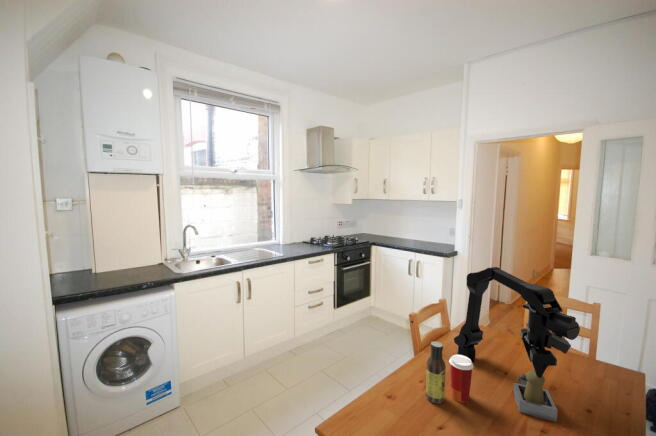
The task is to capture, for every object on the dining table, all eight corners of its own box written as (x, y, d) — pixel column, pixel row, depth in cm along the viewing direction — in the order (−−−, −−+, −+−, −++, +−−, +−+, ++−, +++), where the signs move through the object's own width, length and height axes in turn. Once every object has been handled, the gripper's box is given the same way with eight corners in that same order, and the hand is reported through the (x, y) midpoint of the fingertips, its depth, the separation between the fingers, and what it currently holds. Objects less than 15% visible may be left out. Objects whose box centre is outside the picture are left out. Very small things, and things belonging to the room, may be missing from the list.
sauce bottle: (445, 406, 97) (447, 350, 96) (425, 402, 99) (427, 347, 97) (443, 394, 103) (445, 341, 102) (425, 390, 105) (427, 338, 103)
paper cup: (470, 392, 104) (471, 355, 103) (473, 407, 97) (475, 368, 96) (447, 387, 107) (448, 352, 105) (448, 402, 99) (449, 363, 98)
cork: (537, 397, 100) (539, 368, 99) (548, 410, 94) (551, 379, 93) (519, 396, 101) (520, 367, 100) (529, 409, 95) (531, 378, 94)
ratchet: (519, 415, 95) (520, 401, 94) (508, 380, 112) (509, 368, 112) (556, 424, 91) (557, 410, 90) (539, 387, 108) (540, 375, 108)
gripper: (580, 343, 84) (576, 393, 85) (558, 318, 101) (555, 360, 102) (534, 336, 88) (531, 383, 90) (521, 312, 105) (518, 353, 107)
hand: (535, 369), depth 97 cm, fingers open, 9 cm apart
